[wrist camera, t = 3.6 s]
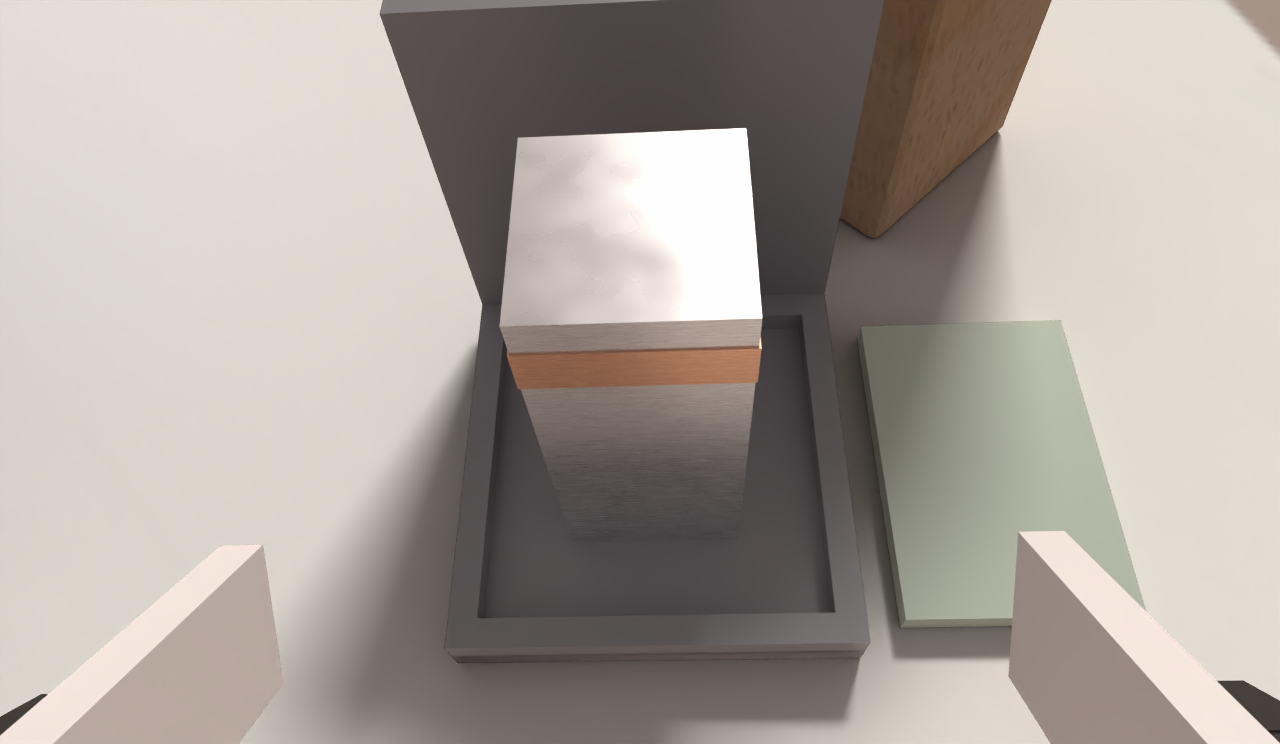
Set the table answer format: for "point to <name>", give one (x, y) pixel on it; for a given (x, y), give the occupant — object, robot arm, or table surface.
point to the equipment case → (790, 334)
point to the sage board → (981, 463)
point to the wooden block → (933, 98)
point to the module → (637, 327)
